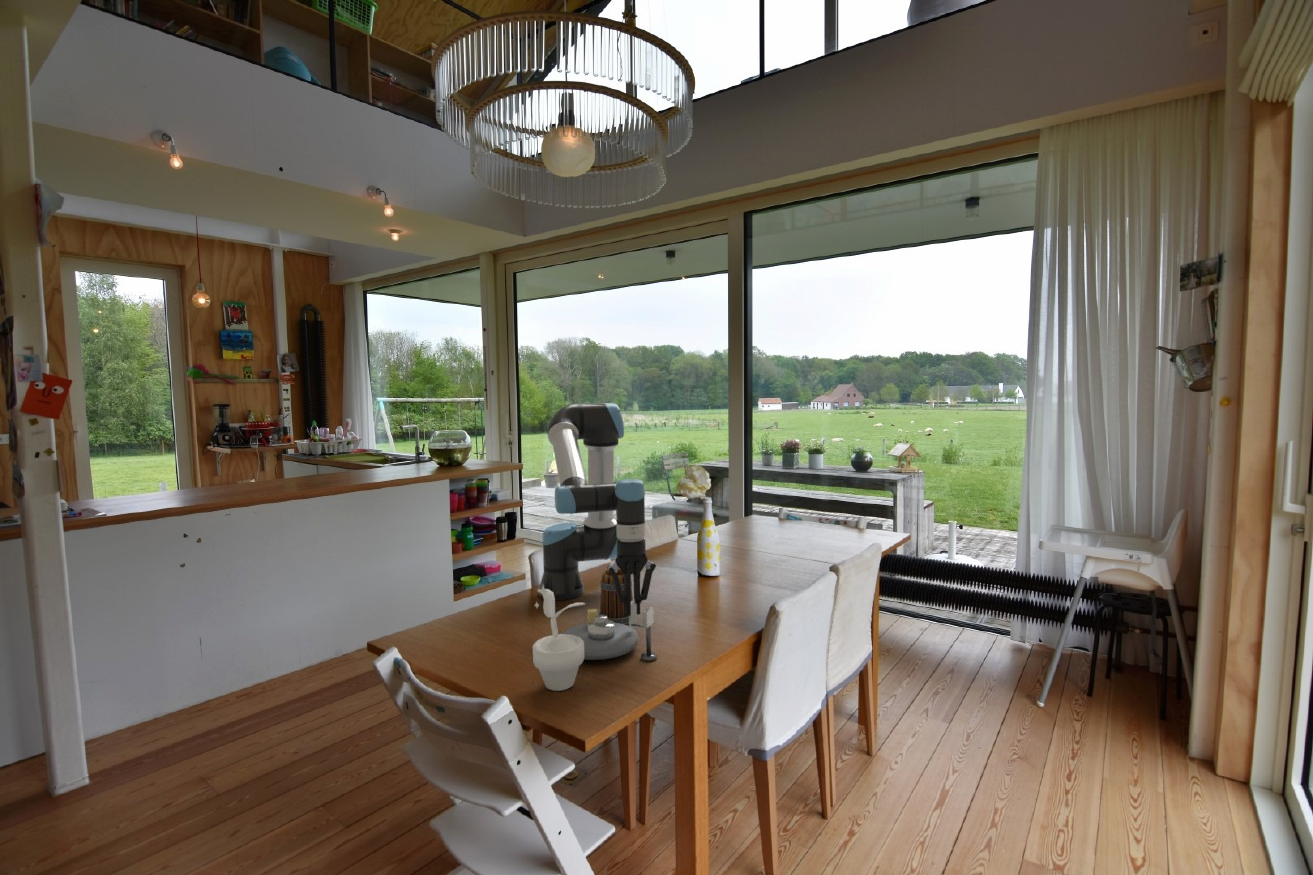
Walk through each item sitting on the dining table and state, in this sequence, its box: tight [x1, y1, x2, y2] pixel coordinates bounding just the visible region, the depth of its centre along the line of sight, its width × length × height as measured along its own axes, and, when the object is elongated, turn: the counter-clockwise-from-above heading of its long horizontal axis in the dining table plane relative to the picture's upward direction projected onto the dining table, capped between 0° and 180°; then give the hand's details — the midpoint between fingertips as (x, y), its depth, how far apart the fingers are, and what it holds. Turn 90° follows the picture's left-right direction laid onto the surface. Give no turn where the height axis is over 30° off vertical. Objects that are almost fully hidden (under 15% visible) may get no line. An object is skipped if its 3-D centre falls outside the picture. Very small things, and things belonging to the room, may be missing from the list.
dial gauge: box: [631, 606, 658, 662], centre depth 154 cm, size 7×4×12 cm, turn 66°
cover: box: [588, 614, 615, 641], centre depth 159 cm, size 7×7×5 cm
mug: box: [598, 567, 634, 626], centre depth 181 cm, size 16×11×15 cm
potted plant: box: [532, 585, 586, 692], centre depth 139 cm, size 13×12×25 cm
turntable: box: [562, 608, 638, 661], centre depth 159 cm, size 20×20×6 cm
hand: (633, 626), depth 162 cm, fingers closed
